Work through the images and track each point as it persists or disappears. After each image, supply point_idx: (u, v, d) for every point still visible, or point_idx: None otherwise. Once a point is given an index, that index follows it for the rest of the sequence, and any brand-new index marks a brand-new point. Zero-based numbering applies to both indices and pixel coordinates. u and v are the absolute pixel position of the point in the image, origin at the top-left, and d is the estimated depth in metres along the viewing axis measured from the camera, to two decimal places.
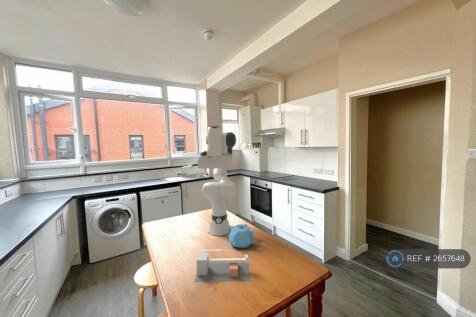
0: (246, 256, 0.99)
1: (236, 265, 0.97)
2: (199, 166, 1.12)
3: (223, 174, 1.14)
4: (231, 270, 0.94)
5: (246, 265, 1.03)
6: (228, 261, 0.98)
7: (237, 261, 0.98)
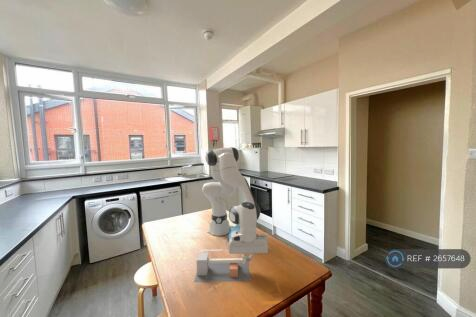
0: (243, 256, 0.98)
1: (236, 265, 0.97)
2: (230, 251, 0.97)
3: (250, 259, 0.98)
4: (231, 270, 0.94)
5: (246, 265, 1.03)
6: (225, 261, 0.98)
7: (234, 261, 0.98)
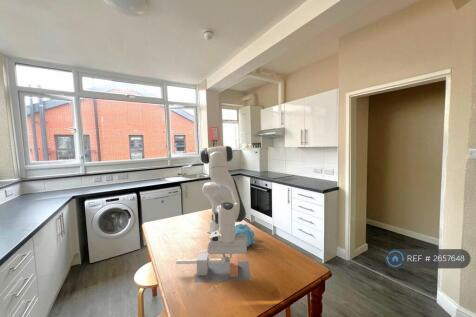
0: (222, 256, 0.98)
1: (236, 265, 0.97)
2: (209, 252, 0.96)
3: (229, 260, 0.98)
4: (231, 270, 0.94)
5: (246, 265, 1.03)
6: None
7: (213, 261, 0.98)
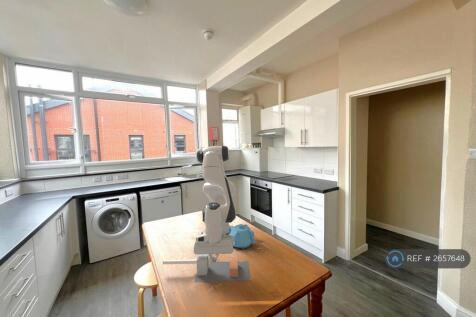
0: (209, 257, 0.98)
1: (236, 265, 0.97)
2: (195, 252, 0.96)
3: (215, 260, 0.98)
4: (231, 270, 0.94)
5: (246, 265, 1.03)
6: (191, 261, 0.97)
7: None
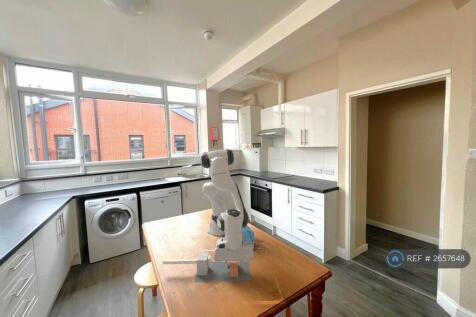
0: (209, 257, 0.98)
1: (236, 265, 0.97)
2: (216, 259, 0.97)
3: (239, 267, 0.98)
4: (231, 270, 0.94)
5: (246, 265, 1.03)
6: (191, 261, 0.97)
7: None
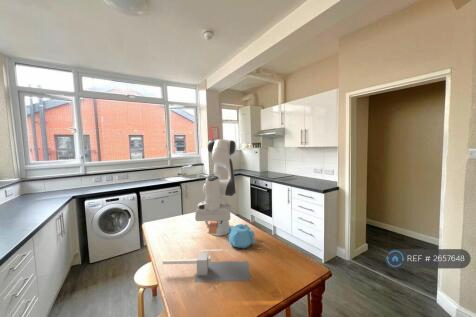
0: (209, 257, 0.98)
1: (215, 224, 1.09)
2: (197, 219, 1.09)
3: (218, 226, 1.10)
4: (210, 228, 1.06)
5: (246, 265, 1.03)
6: (191, 261, 0.97)
7: None
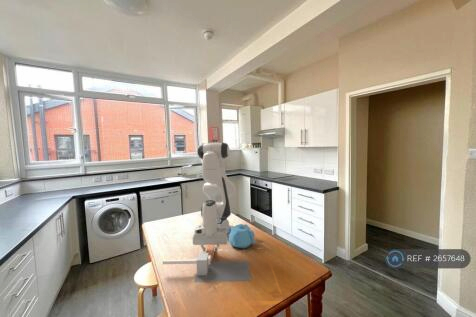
0: (209, 257, 0.98)
1: (212, 251, 1.11)
2: (194, 243, 1.11)
3: (216, 250, 1.13)
4: None
5: (246, 265, 1.03)
6: (191, 261, 0.97)
7: None
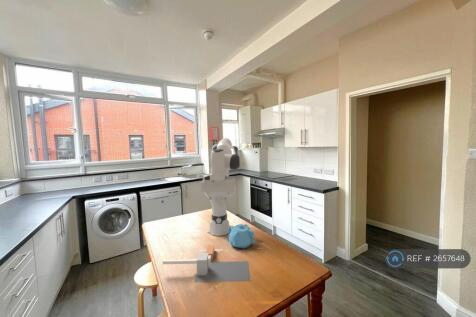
0: (209, 257, 0.98)
1: (212, 251, 1.11)
2: (202, 190, 1.11)
3: (226, 198, 1.12)
4: None
5: (246, 265, 1.03)
6: (191, 261, 0.97)
7: None
